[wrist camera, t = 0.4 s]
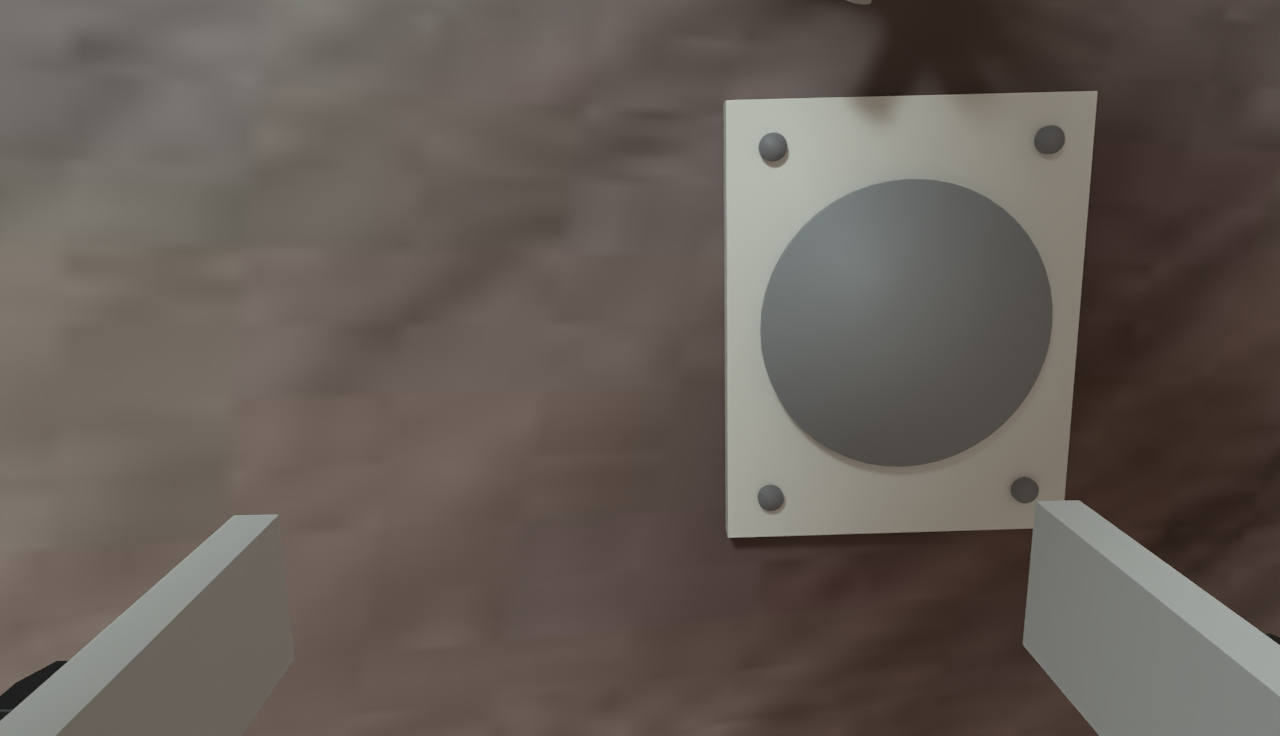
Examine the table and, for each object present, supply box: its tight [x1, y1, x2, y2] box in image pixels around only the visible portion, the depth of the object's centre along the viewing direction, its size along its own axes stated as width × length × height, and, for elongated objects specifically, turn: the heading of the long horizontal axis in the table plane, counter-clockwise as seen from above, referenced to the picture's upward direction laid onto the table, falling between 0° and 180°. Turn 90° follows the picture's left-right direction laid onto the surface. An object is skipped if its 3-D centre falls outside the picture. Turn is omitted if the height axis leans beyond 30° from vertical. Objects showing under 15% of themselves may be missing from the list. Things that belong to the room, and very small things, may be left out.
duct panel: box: [723, 91, 1098, 538], centre depth 40 cm, size 20×16×2 cm
